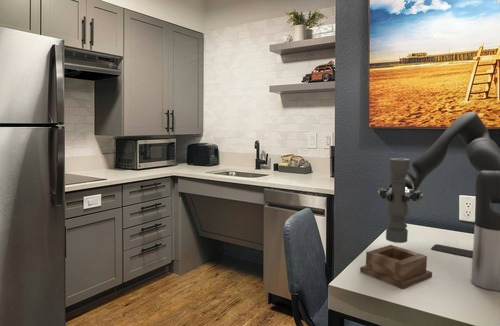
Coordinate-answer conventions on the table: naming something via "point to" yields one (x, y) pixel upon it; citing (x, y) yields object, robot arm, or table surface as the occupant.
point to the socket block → (396, 266)
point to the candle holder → (398, 201)
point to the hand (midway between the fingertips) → (397, 198)
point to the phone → (453, 250)
